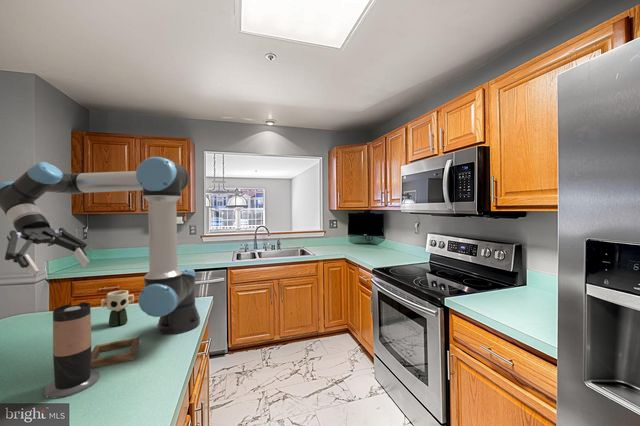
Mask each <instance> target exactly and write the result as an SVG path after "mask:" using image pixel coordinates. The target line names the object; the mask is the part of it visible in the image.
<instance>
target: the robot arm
mask: <svg viewBox="0 0 640 426" xmlns="http://www.w3.org/2000/svg"><path fill="white" fill-rule="evenodd" d="M189 183H190V175H189V173H188V171H187V169H186V168H185V167H184V166H183V165H182V164H179V163H177V162H174V161H173V160H171V159H169V158H165V157H162V156H161V157H160V156H151V157H148V158H146V159H144V160H143V161H141V162H140V163H139V164H138V166H137V168H136V170H131V171H130V170H129V171H127V170H126V171H105V172H104V171H103V172H77V173H76V172H74V173H69V172H68V173H66V172H62V171H61V170H60V169H59V168H58V167H56V166H55V165H53V164H50V163H49V162H46V161H38V162H37V163H35V164H34V165H32V166H31V167H29V168H28V169H27V170H26V171H25V172H24V173H23V174H22V175H20V177H18V178H17V179H16V180H15V181H4V182H2V183H0V209H1V210H2V211H3V213H4V214H5V216H6V217H7V219H8V220H9V222H10V223H11V224H12V226H13V227H14V229H15V230H14V229H12V230H10V231H9V233H8V235H7V236H6V238H7V240H8V244H7V248H6V252H5V256H4V260H5V261H10V260H12V262H13V263H15V264H18V265H19V266H20V268H21V269H22V268H23V269H24V268H25V270H26V272H27V273H28V274H29V276H30V277H31V278H35V277H36V276H37V274H38V273H39V272H40V269H39V268H38V266H37V265H36V263H35V262H34V261H33V259H32V258H31V256H30V255H29V253H27V254H26V252H27V251H28V249H29V247H30V246H31V245H32V244H35V245H40V244H51V245H57V246H59V247H62V248H64V249H68V250H69V251H72V252H73V253H72V254H73V255H74V257H75V258H76V259H77V261H78V262H79V263H80V265H81V266H82V268H84V269H85V268H87V267H88V266H89V264H90V262H91V261H90V260H89V258H88V257H87V256H88V255H87V253H86V251H85V249H86V247H87V246H88V244H87V243H85V242H84V241H83V240H81V239H79V238H78V237H76V236H74V235H73V234H71V233H69V232H67V230H66V229H65V228H64V227H59V229H54V228H51V225H50V224H51V223H50V222H49V221H48V220H47V218H46V217H45V216H44V213H42V211H41V210H40V208H39V207H38V205H37V204H36V201H37V200H38V199H40V198H41V197H42V196H43V195H44V194H45V193H57V194H59V193H60V194H69V195H79V194H84V193H88V194H89V193H108V192H109V193H110V192H128V191H129V192H131V191H132V192H133V191H142V198H143V199H145V200H146V201H147V202H148V203H147V204H148V259H149V260H148V263H149V265H148V266H149V271H148V272H147V273H146V274H144V276H143V277H144V280H143V281H144V285H143V286H144V287H143V289H141V291H140V293H139V295H138V297H137V302H138V306H139V307H140V310H141V311H142V312H144V313H145V314H146V315H147V316H150V317H154V318H159V319H158V321H157V331H158V332H159V333H161V334H165V335H173V334H181V333H185V332H188V331H191V330H194V329H195V328H197V327H198V326H199V325H200V324H201V316H200V313H199V310H198V308H197V306H196V272H195V270H194V269H193V268H189V267H185V268H183V267H181V268H180V267H178V228H177V227H178V223H177V222H178V219H177V218H178V217H177V216H178V215H177V214H178V212H177V201H179V200H180V199H181V198H182V191H184V190H185V189H186V188H187V186H189ZM19 238H21V239H22V240H25V243H24V244H23V245H22V247H21V249H20V250H19V251H18V252H16V248H17V245H18V244H17V243H18V240H19ZM53 238H54V239H53Z"/></svg>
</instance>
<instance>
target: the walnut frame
mask: <svg viewBox="0 0 640 426" xmlns="http://www.w3.org/2000/svg"><path fill="white" fill-rule="evenodd" d="M139 338H140V337H139V336H138V337H133V338H128V339H122V340H115V341H112V342H105V343H100V344H95V345H94V346H93V349H91V369H95V368H100V367H106V366H109V365H114V364H119V363H123V362H128V361H132V360H136V356H137V351H138V348H139V344H140V343H139V341H140V339H139ZM128 347H130V349H129V351H126V352H122V353H117V354H113V355H108V356H104V357H99V356H100V353H103V352H108V351H113V350H118V349H122V348H128Z"/></svg>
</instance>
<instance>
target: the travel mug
mask: <svg viewBox="0 0 640 426" xmlns="http://www.w3.org/2000/svg"><path fill="white" fill-rule="evenodd" d="M91 317H92V316H91V303H90V302H85V301H84V302H79V303H78V304H75V305H71V304H63V305H61V306H58V307H56V308H54V309H53V311H52V356H53V357H52V358H53V359H52V360H53V376H54V377H53V379H54V380H55V387H56V388H57V389H68V388H72V387H75V386H78V385H80V384H82V383H84V382H85V381H87V380H88V379H89V378H90V374H91V369H92V368H91V352H92V318H91Z"/></svg>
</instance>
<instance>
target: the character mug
mask: <svg viewBox="0 0 640 426" xmlns="http://www.w3.org/2000/svg"><path fill="white" fill-rule="evenodd" d="M129 299H130V300H129ZM134 301H135V295H134V294H129V290H125V289H123V290H114V291H110V292H108V293H107V294H106V298H103V299H101V300H100V307H101V308H107V310H109V311H110V313H109V318H108V325H109V326H110V327H114V326H115V327H117V326H118V325H119V324H120V325H124V324H126V323H128V314H127V309H126V308H127V307H128V306H129V304H130V303H134ZM105 302H106V304H105Z"/></svg>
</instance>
